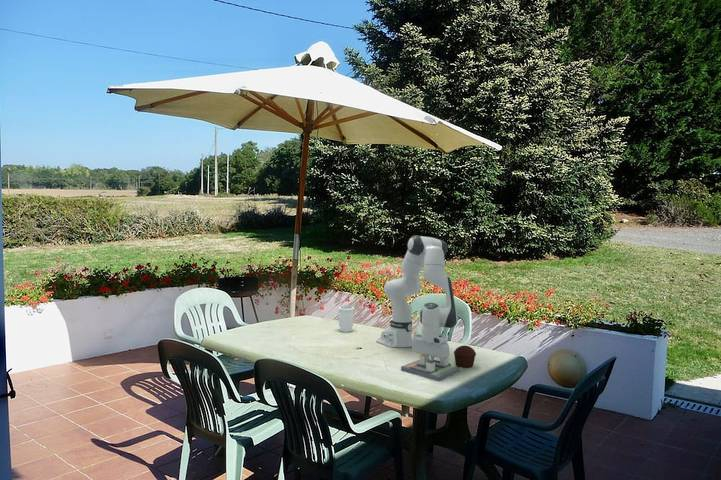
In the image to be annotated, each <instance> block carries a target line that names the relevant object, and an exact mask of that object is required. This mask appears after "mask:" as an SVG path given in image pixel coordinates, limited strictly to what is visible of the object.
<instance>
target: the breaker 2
mask: <svg viewBox="0 0 721 480" xmlns="http://www.w3.org/2000/svg"><path fill="white" fill-rule="evenodd" d="M449 360H450V356H449V357H448V358H446V359H442V358H439V361H440V365H442V366H447V365H449V364H450V362H449Z"/></svg>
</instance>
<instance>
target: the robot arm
mask: <svg viewBox="0 0 721 480" xmlns="http://www.w3.org/2000/svg"><path fill="white" fill-rule="evenodd" d="M447 245H448V244H447V243H446V241H444V240H442V239H438V238H435V237H431V236H422V235H417V234H416V235H412V236H411V237H410V238H409V239H408V241H407V250H406V253H405V256H404V258H403V261H402V263H401V265H400V269H401V272H402V273H403V274H402V276H401V277H400V278H394V279H391V280H389V281H387V282H386V283H385V284H384V287H383V291H384V294H385V296H386V297H387V298H388V299H389V301H390V303H391V307H392V319H391V320H389V321H388V323H389V324H390V325H389V326H387V327H386V328H385V329H383V330H382V331H381V333H380V337H379V338H377V339H376V343H379V344H381V345H384V346H387V347H389V348H409V347H411V350H412V352H414V353H417V354H420V355H422V354H425V358H426V360H427V361H429V360H432V361H433V360H435V359H436V358H439V359H440V358H442V359H446V358H448V357H449V358H450V346H449V345H450V344H449V343H448V342H449V338H448V336H445V335H444V334H443V333H441V332H440V331H441V330H440V328H441V327H442V328H448V329H452V328H454V327H456V325H458V313H457V310H456V304H455V303H456V302H455V297H454V290H453V286H452V279H451V277H449V276H448V275H447V273H446V269H445V265H446V264H445V263H446V262H445V256H446V254H447V253H448V252H447V251H448V246H447ZM422 268H423V269H422ZM421 270H423V271H422V273H423V278H424V279H425V280H426V281H427V282H428V283H430V284H432V285H434V286H435V287H436V286H437V287H439V288H440V289H442V290H443V291H444V293H445V301H446V307H439V304H437V303H435V302H426V303H425V304H423V307H422V309H421V311H420V313H419V322H420V323H421V325H422V327H421V333H420V334H419V333H414V334H413V331H412V330H413V320H412V318H413V317H412V315H413V312H412V311H413V309H412V306H411V305H410V304H409V303H408V302H407V301H408V300H407V297H413V296H415V295H416V294H418V293H419V292H420V291H421V288H422V284H421V281H420V280H419V277H420V272H421Z"/></svg>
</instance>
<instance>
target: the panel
mask: <svg viewBox="0 0 721 480" xmlns="http://www.w3.org/2000/svg"><path fill="white" fill-rule="evenodd" d="M433 361H434V362H435V371H432V372H429V371H426V365H421V364H419V362H420V359H416V360H415V361H412V362H410V363H407V364H403V365H401V367H400V370H401V371H402V372H406V373H408V374H412V375H417V376H419V377H423V378H426V379H430V380H434V381H437V382H440V381H442V380H444V379H446V378H449V377H451V376H454V375H456V374H458V373H460V372H461V367H458V366H456V365H452V363H449V365H447V366H442V365H440V360H437V359H434V360H433Z"/></svg>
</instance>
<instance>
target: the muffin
mask: <svg viewBox="0 0 721 480" xmlns="http://www.w3.org/2000/svg"><path fill="white" fill-rule="evenodd" d="M453 354H454V355H453V356H454V363H455V367H459V368H460V369H472V368H473V367H474V364H475V363H474V362H475V359H476V355H477V352H476V351H475V349H474V348H473V347H471V346H468V345H459V346H458V347H457V348H455V350H454V351H453Z"/></svg>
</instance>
